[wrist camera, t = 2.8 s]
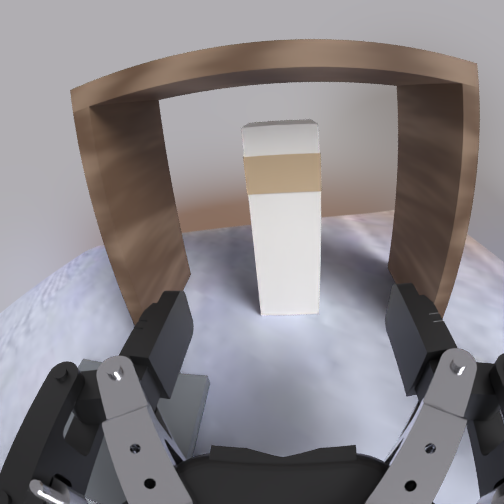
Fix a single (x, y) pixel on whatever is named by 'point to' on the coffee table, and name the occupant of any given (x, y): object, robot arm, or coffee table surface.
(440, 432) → the robot arm
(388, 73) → the shelf bay
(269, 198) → the carton
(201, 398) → the mat
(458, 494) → the coffee table surface
